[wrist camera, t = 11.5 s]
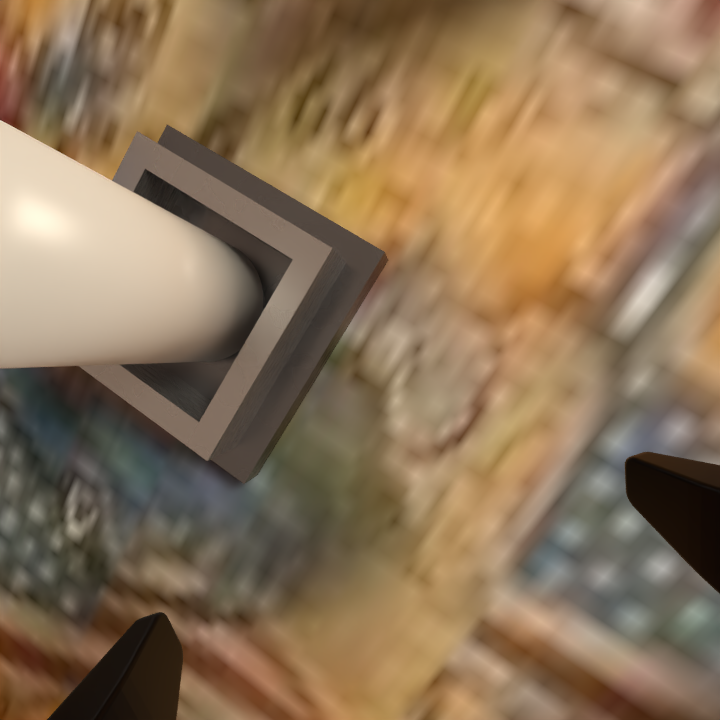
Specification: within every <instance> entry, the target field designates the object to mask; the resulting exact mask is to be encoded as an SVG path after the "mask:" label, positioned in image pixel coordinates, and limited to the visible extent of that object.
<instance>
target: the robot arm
mask: <svg viewBox="0 0 720 720" xmlns="http://www.w3.org/2000/svg"><path fill="white" fill-rule="evenodd" d="M625 480H626V494H627V497H628V499H629V501H630V502H631V504H632V505H633V506H634V508H635V509H636V510H637V511H638V512H639V513H640V514H641V515H642V516H643V517H644V518H645V519H646V520H647V521H648V522H649V523H650V524H651V525H652V526H653V527H654V528H655V530H656V531H657V532H658V533H659V534H660V535H661V536H662V537H663V538H664V539H665V540H666V541H667V542H668V543H669V544H670V545H671V546H672V547H673V548H674V549H675V550H676V551H677V553H678V554H679V555H680V556H681V557H682V558H683V559H684V560H685V561H686V562H687V563H688V564H689V565H690V566H691V567H692V568H693V569H694V570H695V571H696V572H697V573H698V574H699V575H700V576H701V577H702V578H703V579H704V580H705V581H706V582H708V583H709V584H710V585H711V586H712V587H713V588H714V589H715V590H716V591H717V592H718V593H720V465H716V464H710V463H705V462H700V461H695V460H689V459H684V458H679V457H674V456H668V455H663V454H658V453H653V452H643V453H640V454H637V455H634V456H631V457H629V458H627V459H626V462H625ZM182 664H183V651H182V647H181V644H180V642H179V640H178V638H177V635H176V633H175V631H174V629H173V627H172V625H171V623H170V621H169V619H168V617H167V616H166V615H165V614H164V613H162V612H159V613H155V614H152V615H149V616H146V617H143V618H141V619H139V620H137V621H136V622H135V623H134V624H133V625H132V626H131V627H130V628H129V629H128V630H127V631H126V633H125V634H124V635H123V636H122V637H121V638H120V639H119V640H118V641H117V643H116V644H115V645H114V646H113V647H112V648H111V649H110V650H109V651H108V653H107V654H106V655H105V656H104V657H103V658H102V659H101V660H100V661H99V663H98V664H97V665H96V666H95V667H94V668H93V669H92V670H91V671H90V673H89V674H88V675H87V676H86V677H85V678H84V679H83V680H82V681H81V683H80V684H79V685H78V686H77V687H76V688H75V689H74V690H73V691H72V693H71V694H70V695H69V696H68V697H67V698H66V699H65V700H64V701H63V703H62V704H61V705H60V706H59V707H58V708H57V709H56V710H55V711H54V713H53V714H52V715H51V716H50V717H49V718H48V719H47V720H176V717H177V708H178V699H179V690H180V682H181V673H182Z"/></svg>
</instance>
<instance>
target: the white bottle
mask: <svg viewBox="0 0 720 720" xmlns="http://www.w3.org/2000/svg"><path fill="white" fill-rule="evenodd" d="M262 311H263V290H262V285H261V281H260V278H259V275H258V273H257V271H256V269H255V267H254V266H253V264H252V263H251V261H250V260H249V259H248V258H247V257H246V256H245V255H244V254H243V253H242V252H241V251H239V250H238V249H237V248H235V247H233V246H231V245H229V244H228V243H226V242H224V241H222V240H220V239H218V238H217V237H215V236H213V235H211V234H209V233H207V232H205V231H204V230H202V229H200V228H198V227H196V226H194V225H193V224H191V223H189V222H187V221H185V220H183V219H182V218H180V217H178V216H176V215H174V214H172V213H170V212H169V211H167V210H165V209H163V208H161V207H159V206H158V205H156V204H154V203H152V202H150V201H148V200H147V199H145V198H143V197H141V196H139V195H137V194H136V193H134V192H132V191H130V190H128V189H126V188H124V187H123V186H121V185H119V184H117V183H115V182H113V181H112V180H110V179H108V178H106V177H104V176H102V175H101V174H99V173H97V172H95V171H93V170H91V169H89V168H88V167H86V166H84V165H82V164H80V163H78V162H77V161H75V160H73V159H71V158H69V157H67V156H66V155H64V154H62V153H60V152H58V151H56V150H54V149H53V148H51V147H49V146H47V145H45V144H43V143H42V142H40V141H38V140H36V139H34V138H32V137H31V136H29V135H27V134H25V133H23V132H21V131H20V130H18V129H16V128H14V127H12V126H10V125H8V124H7V123H5V122H3V121H1V120H0V368H26V367H56V366H87V365H117V364H148V363H178V362H209V361H217V360H221V359H225V358H227V357H229V356H231V355H233V354H235V353H236V352H238V351H239V350H240V349H242V347H243V345H244V344H245V342H246V340H247V338H248V337H249V335H250V333H251V331H252V330H253V328H254V326H255V324H256V323H257V321H258V319H259V318H260V316H261V314H262Z"/></svg>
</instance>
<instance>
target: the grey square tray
mask: <svg viewBox="0 0 720 720" xmlns="http://www.w3.org/2000/svg"><path fill="white" fill-rule="evenodd" d="M112 181H113V182H115V183H117V184H119V185H121V186H123V187H124V188H126V189H128V190H130V191H132V192H134V193H136V194H137V195H139V196H141V197H143V198H145V199H147V200H148V201H150V202H152V203H154V204H156V205H158V206H159V207H161V208H163V209H165V210H167V211H169V212H170V213H172V214H174V215H176V216H178V217H180V218H182V219H183V220H185V221H187V222H189V223H191V224H193V225H194V226H196V227H198V228H200V229H202V230H204V231H205V232H207V233H209V234H211V235H213V236H215V237H217V238H218V239H220V240H222V241H224V242H226V243H228V244H229V245H231V246H233V247H235V248H237V249H238V250H239V251H241V252H242V253H243V254H244V255H245V256H246V257H247V258H248V259H249V260H250V261H251V263H252V264H253V266H254V267H255V269H256V271H257V273H258V275H259V278H260V281H261V285H262V290H263V311H262V314H261V316H260V318H259V319H258V321H257V323H256V324H255V326H254V328H253V330H252V331H251V333H250V335H249V337H248V338H247V340H246V342H245V344H244V345H243V347H242V349H240V350H239V351H238V352H236V353H235V354H233V355H231V356H229V357H227V358H225V359H221V360H217V361H209V362H178V363H148V364H117V365H87V366H79V367H80V368H82V369H83V370H84V371H86V372H87V373H89V374H90V375H91V376H93V377H94V378H95V379H97V380H98V381H99V382H101V383H102V384H103V385H105V386H106V387H107V388H109V389H110V390H112V391H113V392H114V393H116V394H117V395H118V396H120V397H121V398H122V399H124V400H125V401H126V402H128V403H129V404H131V405H132V406H133V407H135V408H136V409H137V410H139V411H140V412H141V413H143V414H144V415H145V416H147V417H148V418H149V419H151V420H152V421H154V422H155V423H156V424H158V425H159V426H160V427H162V428H163V429H164V430H166V431H167V432H168V433H170V434H171V435H172V436H174V437H175V438H177V439H178V440H179V441H181V442H182V443H183V444H185V445H186V446H187V447H189V448H190V449H191V450H193V451H194V452H195V453H197V454H198V455H200V456H201V457H202V458H204V459H205V460H206V461H209V460H212V461H214V462H215V463H216V464H218V465H219V466H220V467H222V468H223V469H224V470H226V471H227V472H229V473H230V474H231V475H233V476H234V477H235V478H237V479H238V480H239V481H241V482H242V483H243V484H245V483H246V482H248V481H249V480H251V479H252V478H254V477H255V476H256V475H258V473H259V472H260V470H261V468H262V467H263V465H264V463H265V462H266V460H267V458H268V457H269V455H270V454H271V452H272V450H273V449H274V447H275V445H276V444H277V442H278V440H279V439H280V437H281V435H282V434H283V432H284V431H285V429H286V427H287V426H288V424H289V422H290V421H291V419H292V417H293V416H294V414H295V412H296V411H297V409H298V408H299V406H300V404H301V403H302V401H303V399H304V398H305V396H306V394H307V393H308V391H309V389H310V388H311V386H312V385H313V383H314V381H315V380H316V378H317V376H318V375H319V373H320V371H321V370H322V368H323V366H324V365H325V363H326V362H327V360H328V358H329V357H330V355H331V353H332V352H333V350H334V348H335V347H336V345H337V343H338V342H339V340H340V338H341V337H342V335H343V334H344V332H345V330H346V329H347V327H348V325H349V324H350V322H351V320H352V319H353V317H354V315H355V314H356V312H357V311H358V309H359V307H360V306H361V304H362V302H363V301H364V299H365V297H366V296H367V294H368V292H369V291H370V289H371V288H372V286H373V284H374V283H375V281H376V279H377V278H378V276H379V274H380V273H381V271H382V269H383V268H384V266H385V265H386V263H387V261H388V259H387V256H386V254H385V252H384V251H382V250H380V249H378V248H377V247H375V246H373V245H372V244H370V243H368V242H367V241H365V240H363V239H361V238H360V237H358V236H356V235H355V234H353V233H351V232H349V231H348V230H346V229H344V228H343V227H341V226H339V225H338V224H336V223H334V222H332V221H331V220H329V219H327V218H326V217H324V216H322V215H320V214H319V213H317V212H315V211H314V210H312V209H310V208H309V207H307V206H305V205H303V204H302V203H300V202H298V201H297V200H295V199H293V198H291V197H290V196H288V195H286V194H285V193H283V192H281V191H280V190H278V189H276V188H274V187H273V186H271V185H269V184H268V183H266V182H264V181H262V180H261V179H259V178H257V177H256V176H254V175H252V174H251V173H249V172H247V171H245V170H244V169H242V168H240V167H239V166H237V165H235V164H233V163H232V162H230V161H228V160H227V159H225V158H223V157H222V156H220V155H218V154H216V153H215V152H213V151H211V150H210V149H208V148H206V147H204V146H203V145H201V144H199V143H198V142H196V141H194V140H193V139H191V138H189V137H187V136H186V135H184V134H182V133H181V132H179V131H177V130H175V129H174V128H172V127H170V126H169V125H167V126H166V128H165V130H164V132H163V134H162V135H161V137H160V139H159V141H158V143H156V142H154V141H153V140H151V139H149V138H148V137H146V136H144V135H143V134H141V133H139V132H138V131H137V133H136V135H135V137H134V139H133V141H132V143H131V145H130V147H129V148H128V150H127V152H126V154H125V156H124V158H123V160H122V162H121V164H120V166H119V168H118V170H117V172H116V174H115V176H114V178H113V180H112Z"/></svg>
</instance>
